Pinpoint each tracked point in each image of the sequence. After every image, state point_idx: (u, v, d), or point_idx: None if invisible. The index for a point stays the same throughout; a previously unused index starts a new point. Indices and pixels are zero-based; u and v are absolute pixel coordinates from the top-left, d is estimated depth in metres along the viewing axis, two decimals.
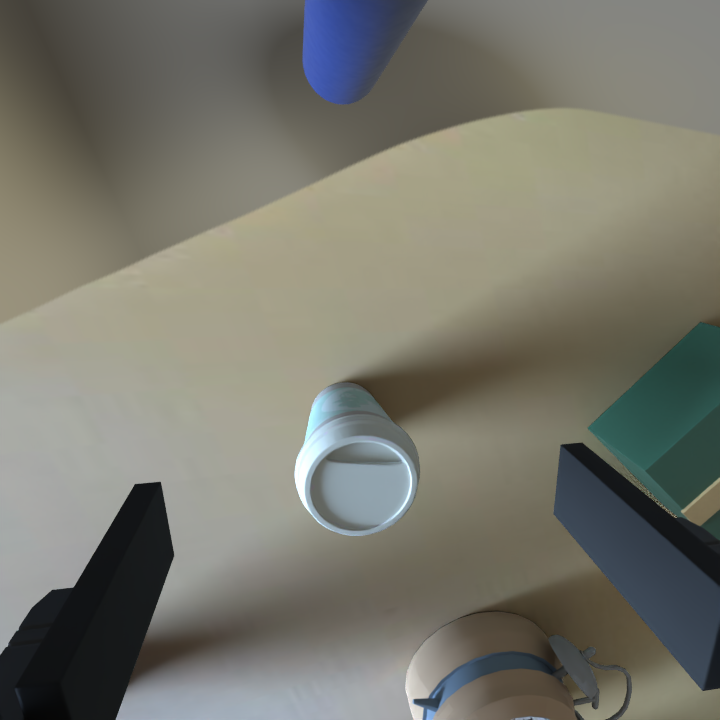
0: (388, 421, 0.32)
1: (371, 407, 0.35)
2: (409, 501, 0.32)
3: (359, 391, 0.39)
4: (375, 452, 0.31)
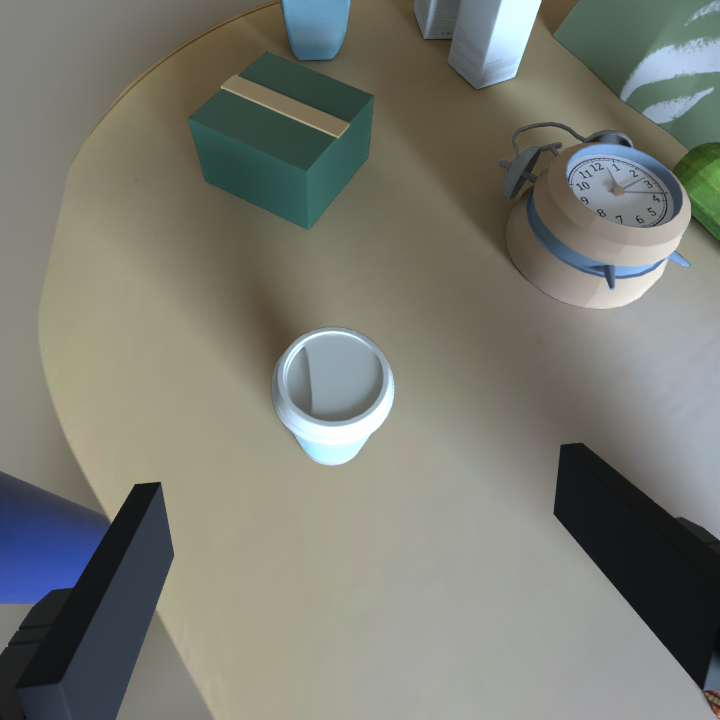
0: None
1: None
2: (341, 330, 0.33)
3: None
4: (298, 371, 0.32)
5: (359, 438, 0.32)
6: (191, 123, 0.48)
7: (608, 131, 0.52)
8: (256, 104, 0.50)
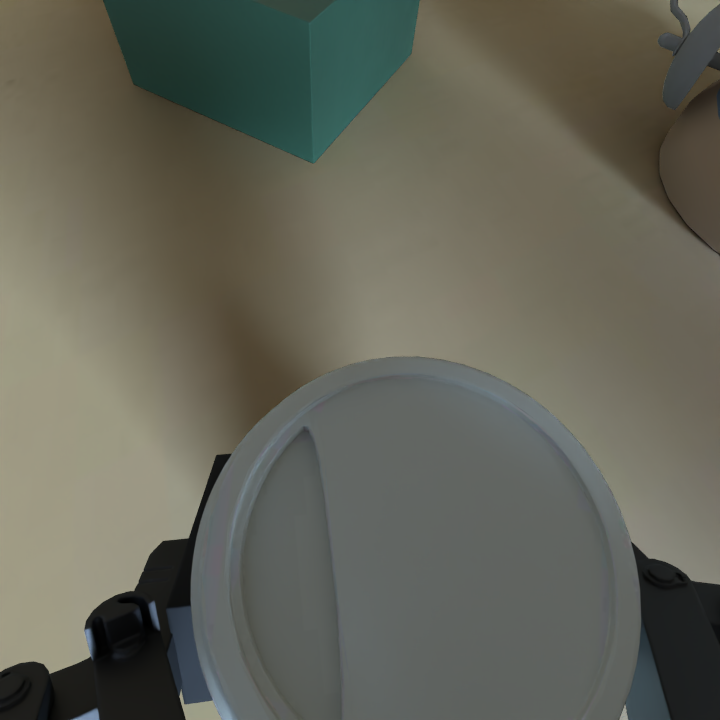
0: None
1: None
2: (436, 368, 0.10)
3: None
4: (289, 527, 0.09)
5: None
6: None
7: None
8: None
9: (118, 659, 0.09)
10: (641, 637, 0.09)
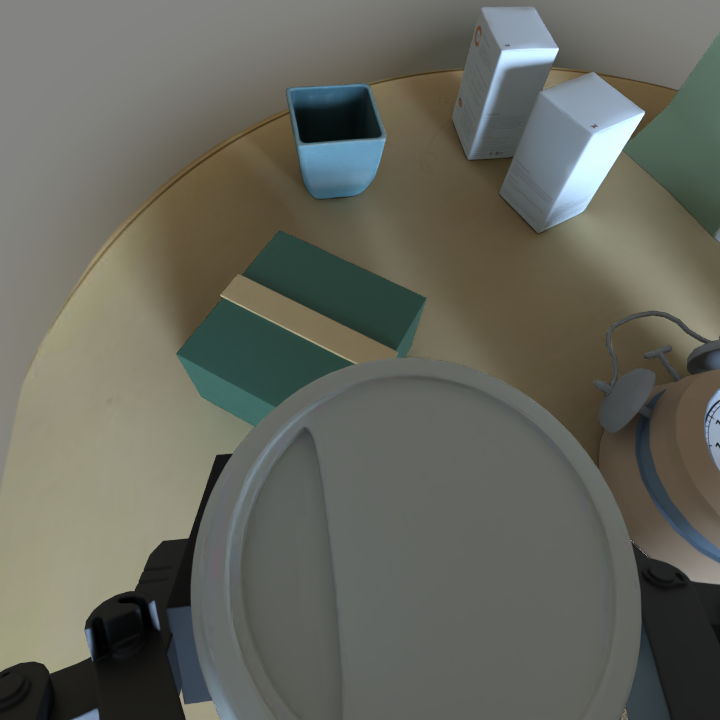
0: None
1: None
2: (436, 369, 0.10)
3: None
4: (289, 529, 0.09)
5: None
6: (181, 358, 0.35)
7: None
8: (268, 323, 0.37)
9: (118, 659, 0.09)
10: (641, 637, 0.09)
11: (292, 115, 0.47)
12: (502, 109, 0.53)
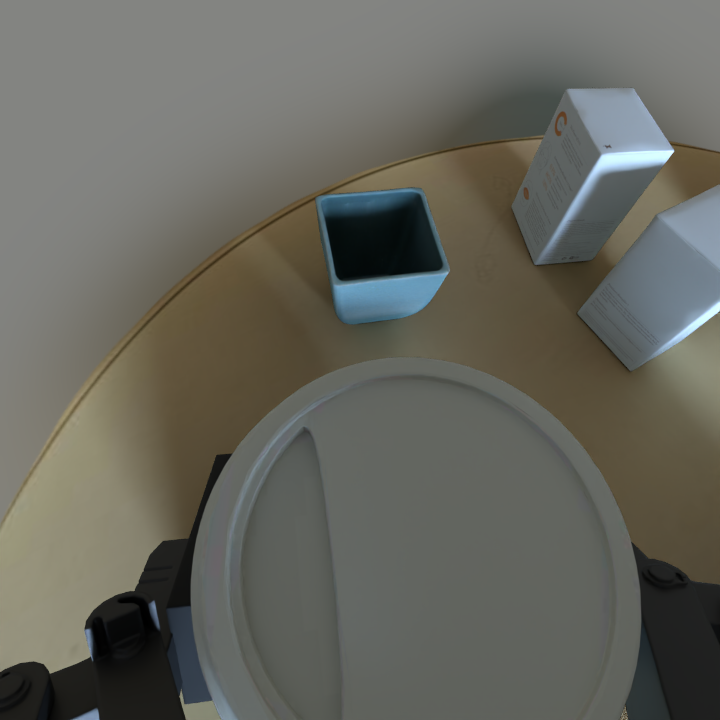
0: None
1: None
2: (436, 369, 0.10)
3: None
4: (289, 528, 0.09)
5: None
6: None
7: None
8: None
9: (118, 659, 0.09)
10: (641, 637, 0.09)
11: (325, 238, 0.35)
12: (588, 215, 0.41)
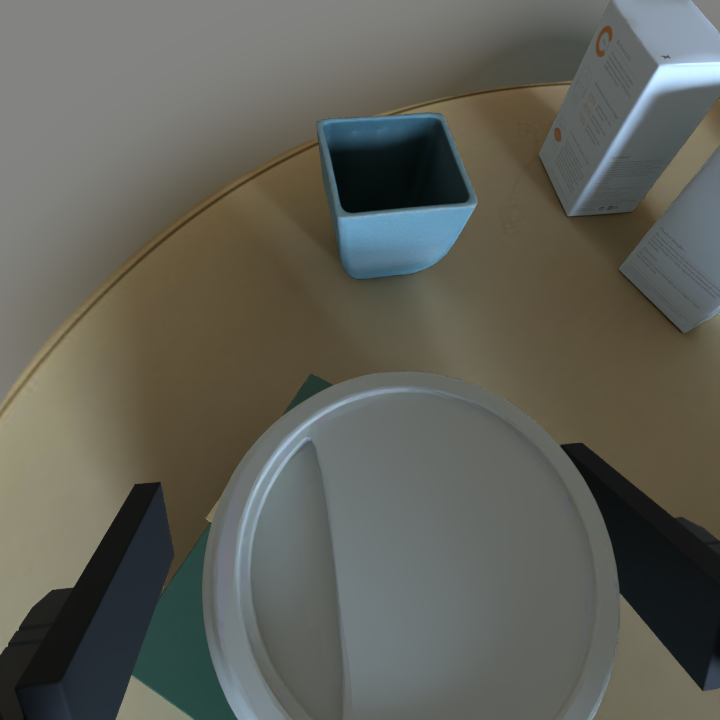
0: None
1: None
2: (431, 382, 0.10)
3: None
4: (293, 532, 0.09)
5: None
6: None
7: None
8: None
9: None
10: None
11: (328, 165, 0.29)
12: (634, 150, 0.35)
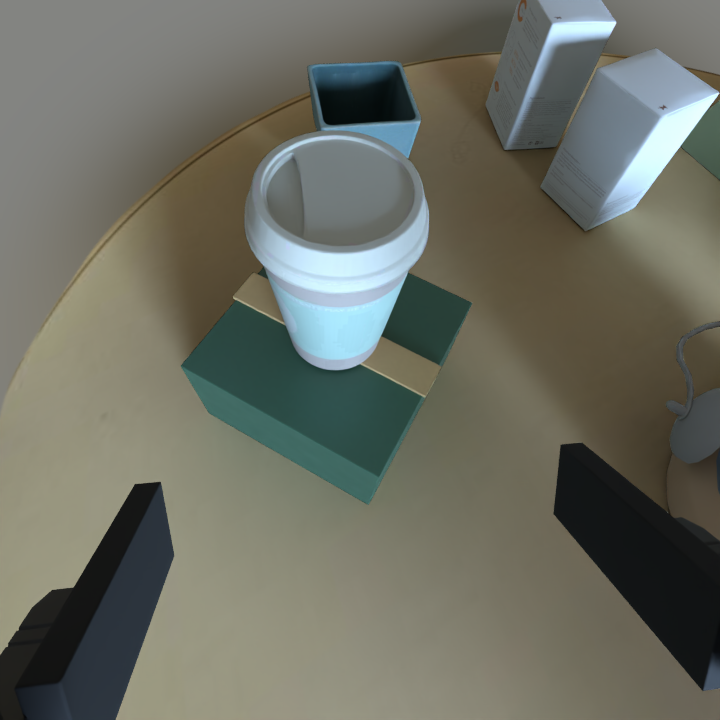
0: None
1: None
2: (350, 134, 0.22)
3: None
4: (285, 187, 0.21)
5: (378, 285, 0.20)
6: (186, 371, 0.30)
7: None
8: None
9: None
10: None
11: (315, 94, 0.41)
12: (547, 92, 0.47)
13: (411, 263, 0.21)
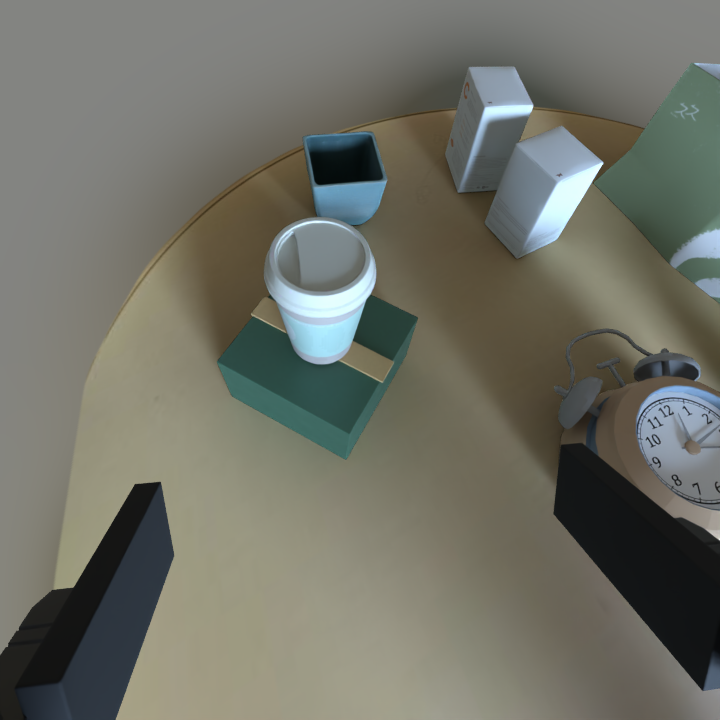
0: None
1: None
2: (328, 219, 0.36)
3: None
4: (288, 253, 0.35)
5: (343, 312, 0.35)
6: (220, 365, 0.44)
7: (674, 357, 0.47)
8: None
9: None
10: None
11: (308, 160, 0.55)
12: (486, 152, 0.61)
13: (364, 299, 0.35)
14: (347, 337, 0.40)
